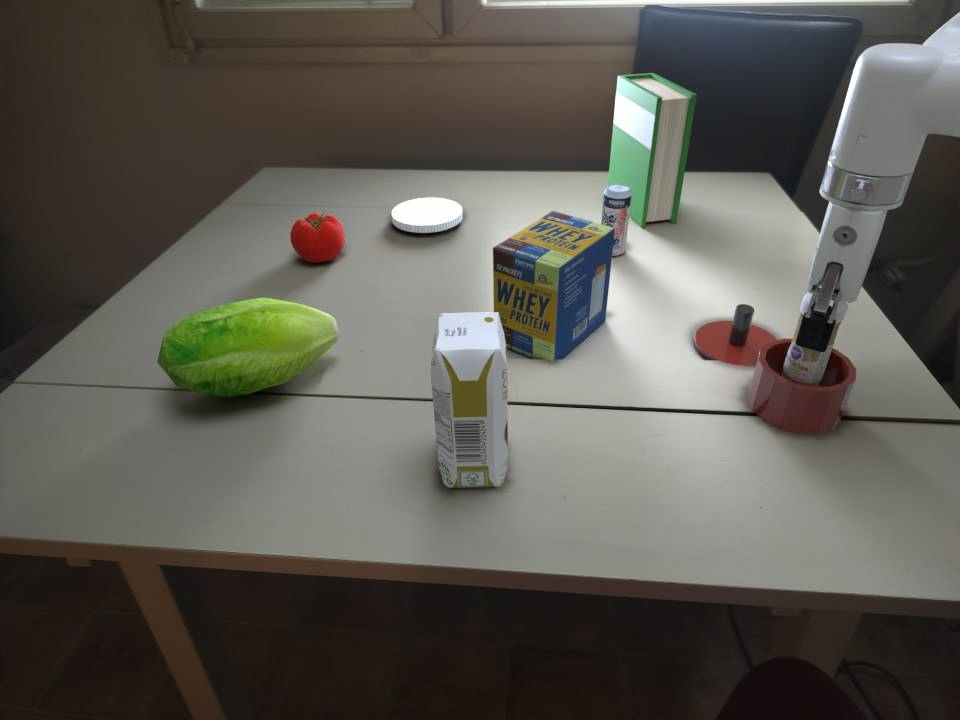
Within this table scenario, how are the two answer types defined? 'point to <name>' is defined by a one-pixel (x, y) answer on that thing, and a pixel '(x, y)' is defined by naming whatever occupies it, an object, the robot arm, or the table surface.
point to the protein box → (552, 284)
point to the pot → (799, 392)
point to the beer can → (617, 214)
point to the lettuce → (245, 346)
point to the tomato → (318, 237)
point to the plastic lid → (426, 215)
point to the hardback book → (651, 144)
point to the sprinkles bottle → (810, 351)
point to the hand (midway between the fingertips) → (815, 335)
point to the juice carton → (470, 399)
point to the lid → (733, 338)
